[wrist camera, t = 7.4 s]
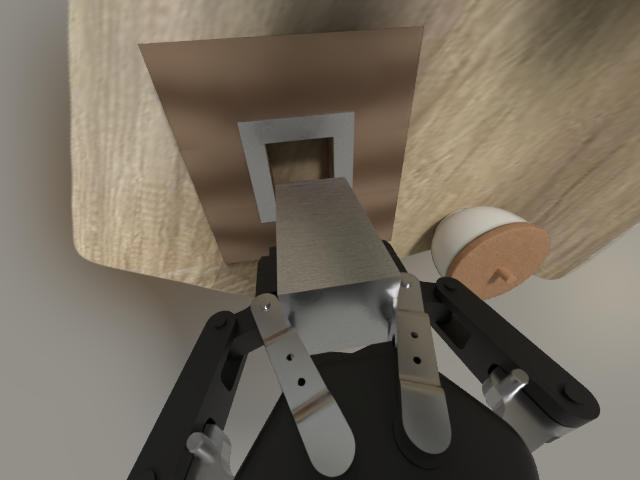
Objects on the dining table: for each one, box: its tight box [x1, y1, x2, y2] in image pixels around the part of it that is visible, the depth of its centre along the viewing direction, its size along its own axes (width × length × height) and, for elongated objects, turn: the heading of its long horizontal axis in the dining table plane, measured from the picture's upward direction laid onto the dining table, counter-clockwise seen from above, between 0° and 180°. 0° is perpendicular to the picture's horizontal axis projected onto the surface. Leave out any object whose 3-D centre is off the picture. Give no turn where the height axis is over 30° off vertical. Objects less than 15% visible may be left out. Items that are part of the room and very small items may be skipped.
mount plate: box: [138, 26, 424, 264], centre depth 27 cm, size 22×22×3 cm
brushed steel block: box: [275, 177, 402, 355], centre depth 15 cm, size 5×5×10 cm
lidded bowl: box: [431, 206, 550, 300], centre depth 33 cm, size 13×13×11 cm
